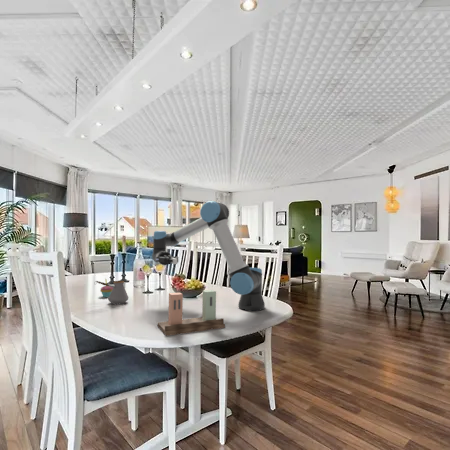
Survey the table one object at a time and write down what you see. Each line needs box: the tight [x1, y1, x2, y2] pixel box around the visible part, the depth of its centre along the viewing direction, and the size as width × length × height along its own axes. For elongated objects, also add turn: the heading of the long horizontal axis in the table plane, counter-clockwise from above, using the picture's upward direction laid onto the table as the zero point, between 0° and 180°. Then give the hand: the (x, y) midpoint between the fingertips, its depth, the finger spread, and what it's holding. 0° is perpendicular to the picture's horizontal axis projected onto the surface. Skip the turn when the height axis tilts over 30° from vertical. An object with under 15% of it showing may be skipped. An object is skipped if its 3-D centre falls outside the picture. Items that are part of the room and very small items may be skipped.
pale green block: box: [201, 289, 217, 321], centre depth 138 cm, size 5×4×14 cm
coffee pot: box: [94, 280, 129, 305], centre depth 177 cm, size 21×12×15 cm, turn 145°
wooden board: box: [156, 317, 226, 337], centre depth 136 cm, size 27×15×4 cm, turn 116°
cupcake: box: [100, 278, 113, 298], centre depth 199 cm, size 9×8×12 cm
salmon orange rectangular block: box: [168, 292, 184, 325], centre depth 131 cm, size 5×4×14 cm
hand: (176, 261), depth 152 cm, fingers closed
